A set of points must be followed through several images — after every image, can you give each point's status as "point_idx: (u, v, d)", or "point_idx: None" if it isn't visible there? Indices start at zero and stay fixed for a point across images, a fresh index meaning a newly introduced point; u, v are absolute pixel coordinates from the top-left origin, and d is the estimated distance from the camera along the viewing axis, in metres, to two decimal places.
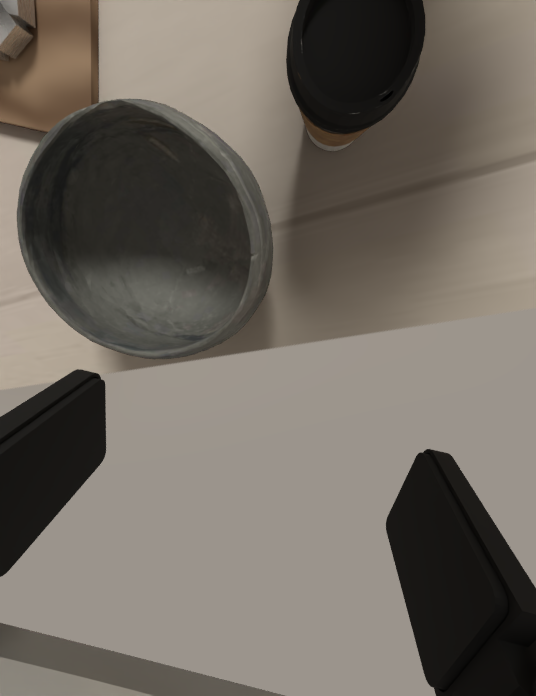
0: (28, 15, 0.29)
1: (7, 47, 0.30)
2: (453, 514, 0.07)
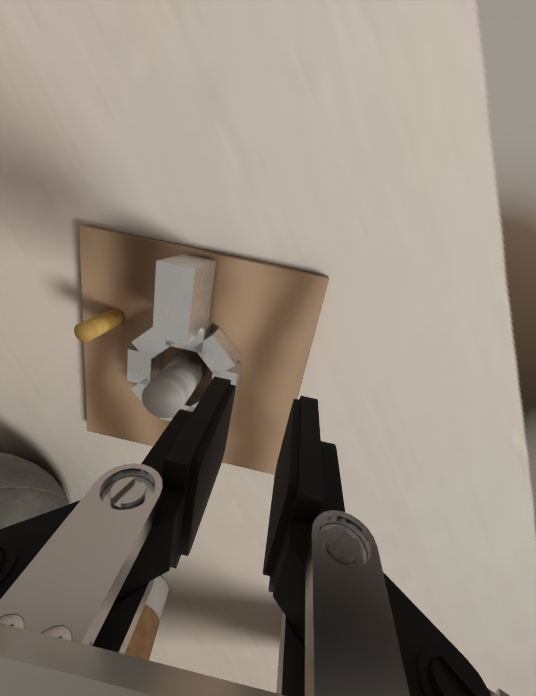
0: None
1: None
2: (291, 437, 0.08)
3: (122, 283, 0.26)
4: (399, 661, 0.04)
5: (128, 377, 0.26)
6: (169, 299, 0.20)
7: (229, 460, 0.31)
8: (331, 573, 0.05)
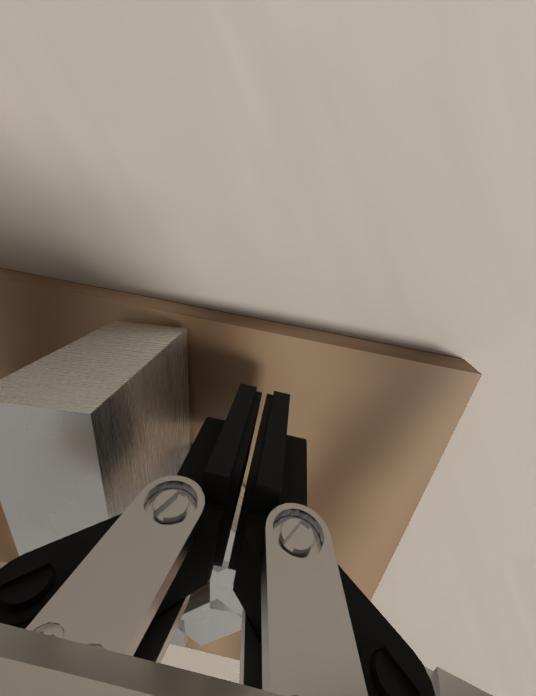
0: None
1: None
2: (258, 431, 0.08)
3: None
4: (336, 651, 0.04)
5: None
6: (40, 494, 0.07)
7: None
8: (285, 568, 0.05)
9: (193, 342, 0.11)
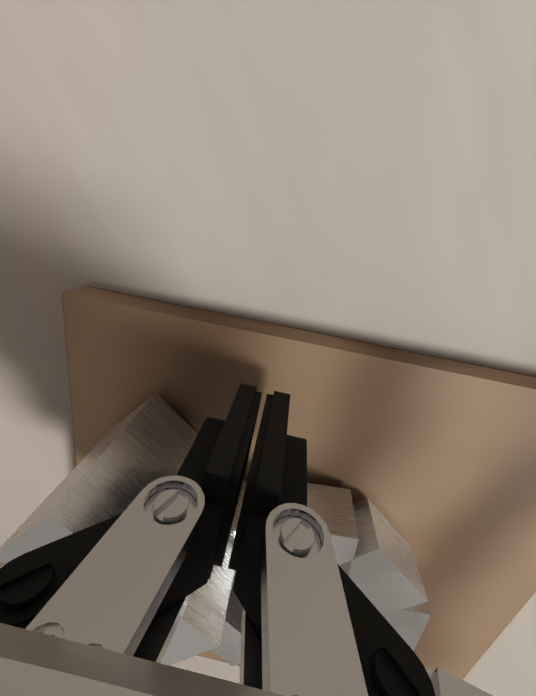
0: None
1: None
2: (258, 431, 0.08)
3: None
4: (336, 651, 0.04)
5: (228, 661, 0.13)
6: None
7: None
8: (285, 568, 0.05)
9: (366, 381, 0.10)
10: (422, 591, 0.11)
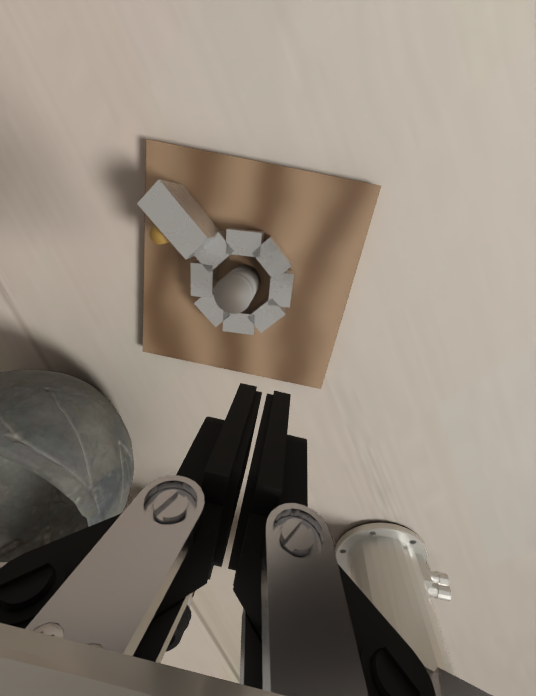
0: None
1: None
2: (258, 431, 0.08)
3: None
4: (336, 651, 0.04)
5: (213, 323, 0.30)
6: (167, 219, 0.23)
7: (276, 375, 0.34)
8: (286, 568, 0.05)
9: (266, 175, 0.26)
10: (290, 263, 0.27)
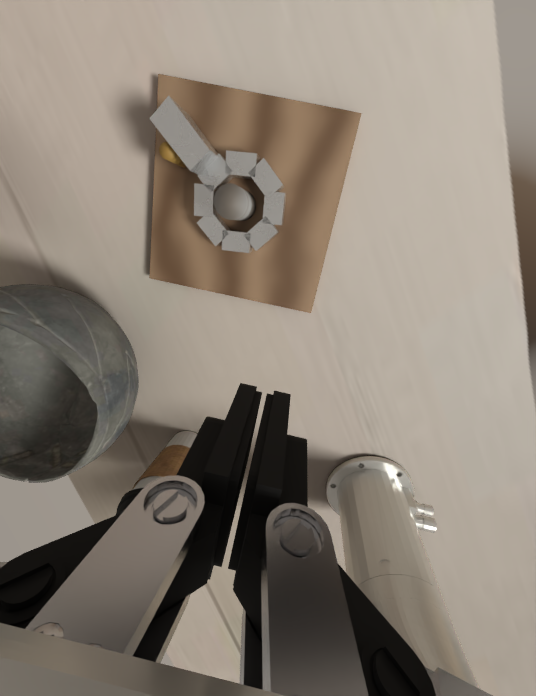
0: (261, 246, 0.34)
1: None
2: (258, 431, 0.08)
3: None
4: (336, 651, 0.04)
5: (213, 242, 0.33)
6: (175, 132, 0.27)
7: (270, 300, 0.37)
8: (286, 568, 0.05)
9: (261, 105, 0.30)
10: (281, 182, 0.31)
